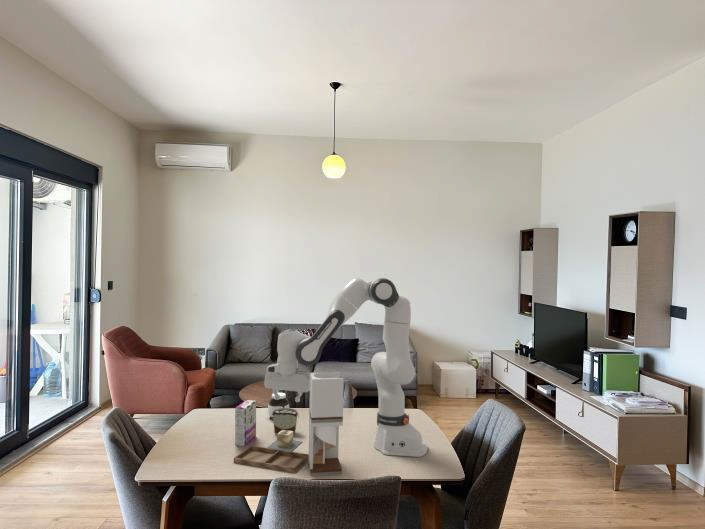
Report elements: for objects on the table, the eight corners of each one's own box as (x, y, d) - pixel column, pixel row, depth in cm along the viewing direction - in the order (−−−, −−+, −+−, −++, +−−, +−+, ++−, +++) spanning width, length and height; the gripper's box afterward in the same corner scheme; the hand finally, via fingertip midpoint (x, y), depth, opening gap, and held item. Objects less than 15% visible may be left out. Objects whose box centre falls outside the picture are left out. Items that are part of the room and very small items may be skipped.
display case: (310, 476, 163) (312, 379, 163) (308, 463, 173) (310, 372, 173) (341, 474, 165) (343, 378, 165) (337, 462, 175) (339, 371, 175)
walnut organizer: (308, 460, 176) (308, 454, 176) (294, 474, 164) (294, 468, 164) (251, 450, 184) (251, 445, 184) (233, 463, 172) (233, 458, 172)
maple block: (293, 443, 191) (293, 431, 191) (287, 447, 186) (288, 435, 186) (282, 441, 193) (282, 429, 193) (276, 445, 188) (277, 433, 188)
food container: (300, 430, 209) (301, 408, 209) (298, 434, 203) (298, 412, 203) (274, 428, 210) (275, 407, 210) (271, 433, 204) (271, 411, 204)
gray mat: (302, 443, 193) (302, 441, 193) (291, 453, 183) (291, 451, 183) (279, 439, 196) (279, 438, 196) (266, 449, 186) (266, 447, 186)
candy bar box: (245, 436, 200) (246, 399, 200) (256, 437, 199) (256, 400, 199) (234, 446, 189) (234, 407, 189) (245, 447, 188) (246, 408, 188)
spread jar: (271, 421, 220) (272, 397, 220) (263, 415, 229) (263, 392, 229) (294, 417, 226) (294, 394, 226) (285, 411, 235) (285, 389, 236)
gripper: (313, 368, 190) (313, 400, 190) (269, 364, 196) (269, 396, 196) (307, 371, 184) (307, 405, 184) (262, 367, 190) (262, 400, 190)
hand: (287, 400), depth 190 cm, fingers open, 8 cm apart
